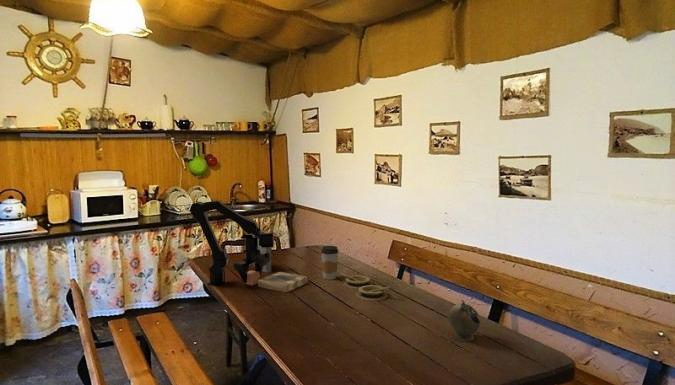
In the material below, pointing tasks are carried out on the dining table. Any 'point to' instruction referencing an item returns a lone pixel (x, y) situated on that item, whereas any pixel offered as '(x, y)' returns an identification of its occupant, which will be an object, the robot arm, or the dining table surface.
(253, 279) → the terracotta cube
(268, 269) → the hip flask
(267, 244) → the robot arm
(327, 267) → the coffee cup
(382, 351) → the dining table surface
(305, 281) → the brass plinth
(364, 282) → the tableware set
